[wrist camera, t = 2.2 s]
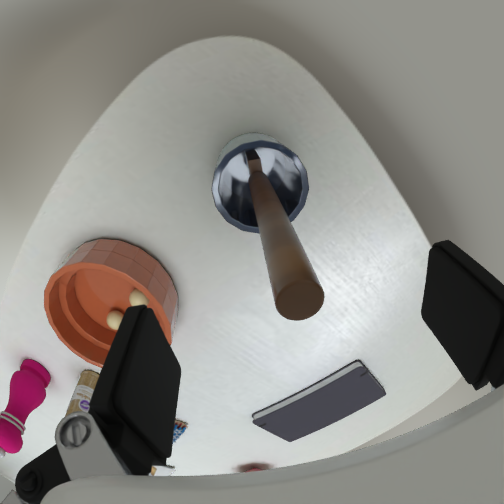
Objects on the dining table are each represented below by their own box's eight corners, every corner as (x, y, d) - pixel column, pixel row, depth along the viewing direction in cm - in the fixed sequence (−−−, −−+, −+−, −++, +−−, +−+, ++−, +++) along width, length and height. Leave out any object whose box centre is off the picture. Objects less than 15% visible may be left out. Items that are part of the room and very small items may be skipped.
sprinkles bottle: (106, 375, 41) (85, 444, 29) (104, 389, 43) (85, 454, 31) (81, 365, 40) (55, 431, 28) (80, 380, 42) (57, 442, 30)
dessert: (164, 477, 63) (163, 491, 58) (123, 466, 60) (120, 480, 55) (176, 466, 58) (175, 482, 54) (129, 453, 55) (126, 469, 51)
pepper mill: (16, 361, 40) (-24, 442, 22) (30, 352, 39) (-14, 442, 21) (42, 386, 43) (10, 467, 25) (59, 379, 42) (24, 469, 24)
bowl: (47, 252, 31) (23, 277, 26) (153, 222, 30) (138, 248, 25) (97, 344, 38) (84, 374, 33) (194, 332, 37) (190, 366, 32)
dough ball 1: (106, 308, 34) (100, 319, 32) (122, 305, 34) (117, 317, 32) (114, 322, 35) (109, 334, 33) (130, 320, 35) (125, 332, 33)
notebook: (288, 436, 52) (383, 388, 47) (289, 442, 51) (386, 394, 46) (249, 415, 47) (358, 358, 42) (250, 422, 46) (361, 365, 41)
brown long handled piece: (241, 152, 27) (266, 258, 9) (258, 149, 27) (320, 246, 8) (249, 188, 29) (283, 346, 10) (265, 184, 29) (327, 336, 10)
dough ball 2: (129, 285, 33) (123, 297, 31) (147, 282, 33) (142, 294, 31) (136, 302, 34) (131, 314, 32) (154, 299, 34) (150, 311, 32)
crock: (210, 141, 27) (202, 152, 20) (282, 126, 27) (300, 133, 20) (226, 208, 30) (224, 241, 23) (293, 194, 30) (313, 223, 23)
